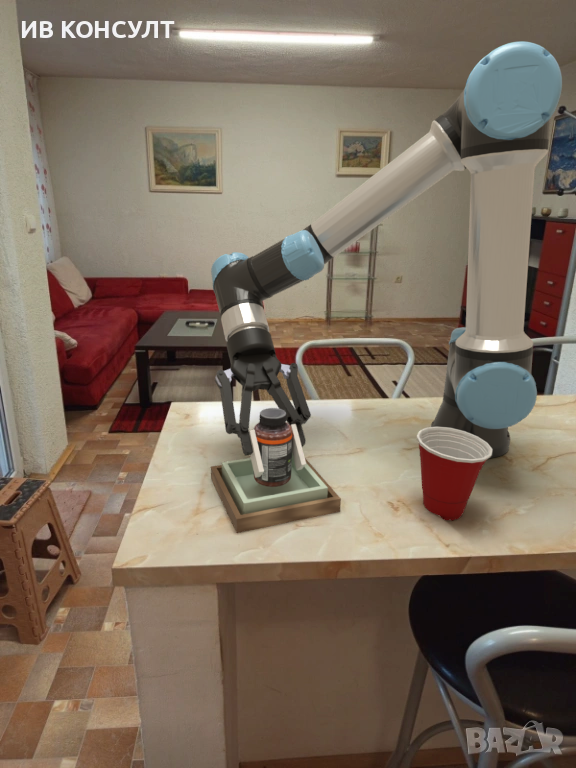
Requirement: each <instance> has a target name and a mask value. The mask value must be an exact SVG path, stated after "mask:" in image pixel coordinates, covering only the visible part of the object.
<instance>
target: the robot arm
mask: <svg viewBox="0 0 576 768" xmlns="http://www.w3.org/2000/svg"><path fill="white" fill-rule="evenodd" d="M562 76H563V75H562V71H561V68H560V65H559V63H558V62H557V59H556V58H555V56H553V54H551V53H550V51H549V50H547V49H546V48H545V47H543V46H541V45H540V44H537V43H534V42H530V41H513V42H508V43H506V44H503V45H500V46H499V47H496V48H494V49H493V50H491V52H489V53H488V54H487V55H485V56H483V58H482V59H480V60H479V62H477V64H475V66H474V68H473V69H472V70H471V71H470V74H469V75H468V76H467V77H468V78H467V80H466V83H465V87H464V89H462V92H460V94H459V96H458V97H457V98H456V100H455V101H454V102H453V103H452V104H451V105H450V106H449V107H448V108H447V109H446V110H445V111H444V112H443V113H442V114H440V115H439V116H438V117H437V118H435V119H433V121H432V122H431V125H430V129H429V131H428V132H427V133H426V134H424V136H422V137H420V139H418V140H417V141H416V142H415V143H413V144H412V145H411V146H409V147H408V148H407V149H406V150H404V151H403V152H401V153H400V154H399V155H398V156H396V157H395V158H394V159H392V160H391V161H389V163H388V164H386V165H385V166H384V167H382V168H381V169H379V170H378V171H377V172H376V173H374V174H373V175H372V176H371V177H369V178H368V179H367V180H366V181H364V182H363V183H362V184H360V185H359V186H357V188H355V189H354V190H353V191H351V192H350V193H349V194H347V196H345V197H343V199H341V200H340V201H338V202H337V203H336V204H334V205H333V206H332V207H331V208H329V209H328V210H327V211H326V212H325V213H323V214H321V216H319V217H317V219H315V220H314V221H312V222H311V223H310V224H309V225H308V226H306V227H305V228H303V229H302V230H300V231H297V232H295V233H294V234H293V233H292V234H290V235H287V236H285V237H284V238H283V239H282V240H281V239H280V240H279V241H278V242H275V243H274V244H272V245H271V246H269V247H267V248H265V249H263V250H262V251H260V252H258V253H256V254H255V255H252V256H250V257H249V256H248V255H247V254H245V253H242V252H237V251H235V252H231V253H230V254H228V253H225V254H222V255H220V256H219V257H218V258H217V259H215V260H214V262H213V263H212V265H211V270H210V274H211V280H212V290H213V294H215V299H216V304H217V307H218V312H219V315H220V321H221V325H222V329H223V335H224V339H225V342H226V350H227V353H228V357H229V361H230V368H228V369H226V370H223V369H219V370H217V371H216V374H215V378H214V382H215V384H216V385H217V387H218V389H219V392H220V399H221V406H222V413H223V420H224V427H225V432H226V433H227V434H228V435H232V434H235V435H236V436H237V437H238V438H239V440H240V445H241V448H242V454H244V456H250V457H249V458H251V461H252V465H253V470H254V474H255V478H256V477H260V476H261V475H262V473H263V472H264V469H263V464H262V460H261V456H260V451H259V447H258V443H257V438H256V434H255V430H254V429H250V422H251V421H250V419H251V418H250V417H251V409H252V399H253V392H255V391H257V390H261V391H265V390H266V392H267V394H268V395H269V396H271V397H272V399H273V402H274V403H275V404H276V406H277V407H278V409H282V410H284V411H285V412H286V419H287V420H286V423H288V424H289V425H290V426H291V428H292V454H293V458H294V462H295V466H296V470H301V469H302V468H303V467H304V466H305V465H306V461H305V458H306V457H305V454H304V450H303V447H304V446H305V445H306V442H307V441H306V436H305V433H304V429H303V425H305V424H306V423H307V422H308V420H309V419H310V418H311V416H312V414H311V411H310V408H309V405H308V402H307V400H306V396H305V394H304V391H303V388H302V384H301V382H300V379H299V377H298V373H299V372H298V369H299V368H298V364H297V363H295V362H292V363H291V364H290V365H289V364H283V363H282V362H281V361H280V360H279V358H278V357H277V354H276V353H277V352H276V349H275V346H274V342H273V337H272V335H271V333H270V327H269V323H268V320H267V316H266V312H265V308H264V303H263V302H264V301H265V300H268V299H270V298H272V297H273V296H275V295H277V294H279V293H281V292H283V291H285V290H288V289H290V288H292V287H295V286H296V285H298V284H300V283H302V282H304V281H308V280H309V279H311V278H312V277H314V276H315V275H317V274H319V273H320V272H322V271H323V270H324V269H325V265H326V264H327V263H328V262H330V261H331V260H333V259H334V258H336V256H338V255H339V254H341V253H342V252H344V251H345V250H346V249H348V248H349V247H350V246H352V245H353V244H354V243H355V242H357V241H358V240H359V239H361V238H362V237H364V236H365V235H366V234H368V233H369V232H371V231H373V230H374V229H375V228H377V227H378V226H379V225H380V224H381V223H383V222H385V220H387V219H389V218H390V217H391V216H393V215H394V214H395V213H397V212H399V211H400V210H401V209H402V208H404V207H405V206H407V205H408V204H409V203H411V202H412V201H413V200H415V199H416V198H417V197H419V196H420V195H422V194H423V193H424V192H426V191H427V190H428V189H430V188H431V187H433V186H434V185H435V184H437V183H438V182H439V181H442V179H444V178H445V177H447V175H449V174H451V173H452V172H453V171H457V172H458V171H459V172H463V171H465V170H468V171H469V174H470V191H469V193H470V194H469V195H470V196H469V217H468V218H469V219H468V221H469V223H468V224H469V225H468V227H469V228H468V250H467V251H468V252H467V253H468V254H467V278H466V279H467V280H466V281H467V283H466V306H465V307H466V311H465V312H466V315H465V326H464V327H457V328H455V329H453V330H452V331H451V334H450V340H449V341H448V345H449V349H448V356H447V364H446V372H445V378H444V379H445V381H444V387H443V396H442V402H441V405H440V407H439V408H438V411H437V413H436V416H435V418H434V420H433V421H431V424H430V427H447V428H453V429H457V430H462V431H465V432H468V433H470V434H473V435H475V436H478V437H479V438H481V439H482V440H484V441H485V442H487V443H488V444H489V446H490V447H491V448H492V455H491V457H490V458H489V459H492V458H498V457H501V456H503V455H505V454H506V453H508V452H509V449H510V445H511V433H509V428H510V427H512V426H515V425H517V424H519V423H520V422H521V421H523V420H524V419H525V418H527V417H528V416H529V414H530V413H531V412H532V411H533V409H534V407H535V406H536V402H537V396H538V391H537V386H536V385H537V383H536V381H535V378H534V377H533V375H532V366H533V365H532V363H533V354H534V352H533V349H534V341H533V339H531V338H530V337H529V336H528V335H527V334H526V333H525V331H524V327H525V313H526V300H527V299H526V298H527V283H528V270H529V255H530V242H531V241H530V239H531V227H532V226H531V225H532V214H533V212H532V210H533V197H534V186H535V171H536V167H537V165H538V164H539V162H541V161H542V160H543V158H544V157H545V156H547V154H548V153H549V142H550V132H551V118H552V116H553V115H554V114H555V112H556V110H557V106H558V104H559V101H560V98H561V95H562V89H563V77H562ZM279 373H281V374H282V377H283V379H285V380H286V384H287V388H288V391H289V394H290V397H291V399H290V398H289V396H288V395H287V394H286V392H285V390H284V389H283V387H282V383H281V381H280V380H279V378H278V375H279ZM232 378H233V379H234V380H235V381H236V382H238V383H239V384H240V385H241V386H242V387H241V401H240V410H239V421H238V422H237V419H236V411H235V406H234V405H235V404H234V400H233V393H232V387H231V382H232ZM291 400H292V402H291ZM292 403H293V404H292Z"/></svg>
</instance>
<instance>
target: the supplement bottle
mask: <svg viewBox="0 0 576 768" xmlns="http://www.w3.org/2000/svg"><path fill="white" fill-rule="evenodd" d="M258 420H259V422H258V423H256V424H255V425H254V427H253V430H255V434H256V438H257V443H258V447H259V451H260V456H261V460H262V464H263V469H264V472H263V473H262V475H261V476H260V477H256V478H255V474H254V479H255V480H256V482H257V483H259V484H261V485H263V486H267V487H278V486H282V485H284V484H286V483H287V482H289V480H290V479H291V469H292V428H291V426H290V425H289V424H288V423H287V421H286V420H287V419H286V412H285V411H284V410H282V409H279V408H277V407H269V408H263V409H262V410H261V411H260V412H259V419H258ZM253 473H254V471H253Z"/></svg>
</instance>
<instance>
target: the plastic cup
mask: <svg viewBox="0 0 576 768" xmlns="http://www.w3.org/2000/svg"><path fill="white" fill-rule="evenodd" d="M416 441H418V450H419V459H420V476H421V477H420V478H421V489H422V502H423V503H422V504H423V506H424V508H425V509H426V510H427V511H428V512H430V513H432V514H434V515H436V516H439V517H440V518H441V519H442V520H443V521H455V520H459V519H460V518H461V517H462V516H463V514H464V512H465V509H466V506H467V503H468V502H469V501H468V500H469V499H470V497H471V494H472V492H473V490H474V487H475V484H476V482H477V479H478V476H479V475H480V472H481V470H483V469H482V468H483V466H484V465H485V464H486V461H487V460H488V459H491V458H490V457H491V455H492V448H491V447H490V446H489V444H488V443H487V442H485V441H484V440H482V439H481V438H479V437H478V436H475V435H473V434H470V433H468V432H465V431H462V430H457V429H453V428H447V427H431V426H430V427H424V428H422V429H420V430H419V431H418V432H417V435H416Z"/></svg>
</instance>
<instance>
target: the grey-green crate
mask: <svg viewBox="0 0 576 768" xmlns="http://www.w3.org/2000/svg"><path fill="white" fill-rule="evenodd" d="M221 465H222V480H223V482H224V483H225V485H226V487H227V489H228V491H229V493H230V495H231V497H232V499H233V501H234V503H235V505H236V507H237V509H238V511H239V513H240V515H243V514H248V513H254V512H259V511H264V510H269V509H274V508H279V507H284V506H289V505H295V504H300V503H305V502H310V501H315V500H320V499H325V498H327V494H328V487H327V486H326V485H325V484H324V483H323V482H322V480H321V479H320V478H319V477H318V476H317V475H316V474H315V472H314V471H313V470H312V469H311V468H310V467H309V465H308V464H307V463H306V465H305V466H304V467H303V468H302V469H301V470H296V466H295V462H294V458H293V454H292V469H291V479H290V480H289V482H287V483H286V484H284V485H282V486H278V487H267V486H263V485H261V484H259V483H257V482H256V480H255V479H254V473H253V471H254V470H253V465H252V461H251V457H247V458H240V459H234V460H233V459H232V460H226V461H222V462H221Z"/></svg>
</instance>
